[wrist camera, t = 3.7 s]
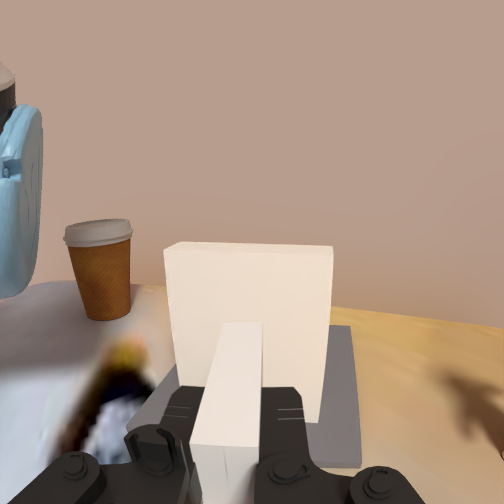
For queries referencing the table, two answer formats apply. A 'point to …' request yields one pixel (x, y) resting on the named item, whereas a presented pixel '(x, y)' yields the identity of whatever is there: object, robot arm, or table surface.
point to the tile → (253, 309)
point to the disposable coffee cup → (101, 265)
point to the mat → (318, 434)
